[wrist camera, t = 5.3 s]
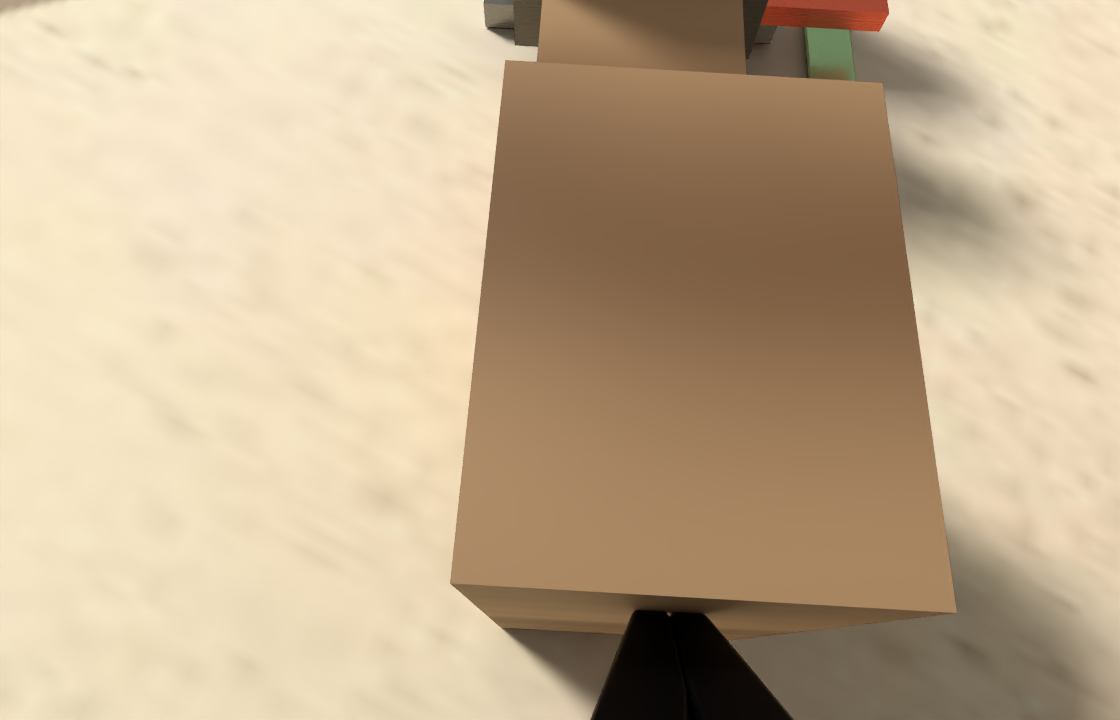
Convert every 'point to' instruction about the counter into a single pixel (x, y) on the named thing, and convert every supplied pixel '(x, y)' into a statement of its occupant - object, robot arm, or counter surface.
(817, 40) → the gauge housing
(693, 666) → the robot arm
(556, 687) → the counter surface
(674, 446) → the walnut block
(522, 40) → the grey bracket
